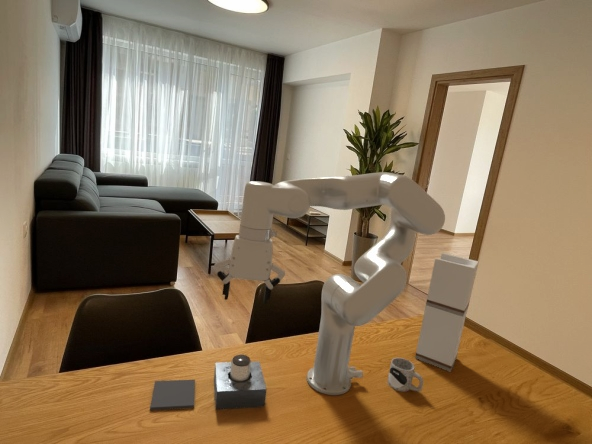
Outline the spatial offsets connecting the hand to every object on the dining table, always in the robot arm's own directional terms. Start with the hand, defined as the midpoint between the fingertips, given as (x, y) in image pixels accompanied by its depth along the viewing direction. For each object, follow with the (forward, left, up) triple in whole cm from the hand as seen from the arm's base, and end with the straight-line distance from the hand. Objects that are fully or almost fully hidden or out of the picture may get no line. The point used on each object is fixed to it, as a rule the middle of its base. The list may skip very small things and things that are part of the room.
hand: (245, 299), depth 94 cm
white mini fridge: (-68, -12, -26) cm, 74 cm away
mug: (-48, +2, -26) cm, 55 cm away
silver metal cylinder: (0, +1, -26) cm, 26 cm away
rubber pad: (+16, +1, -26) cm, 30 cm away
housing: (0, +1, -26) cm, 26 cm away
